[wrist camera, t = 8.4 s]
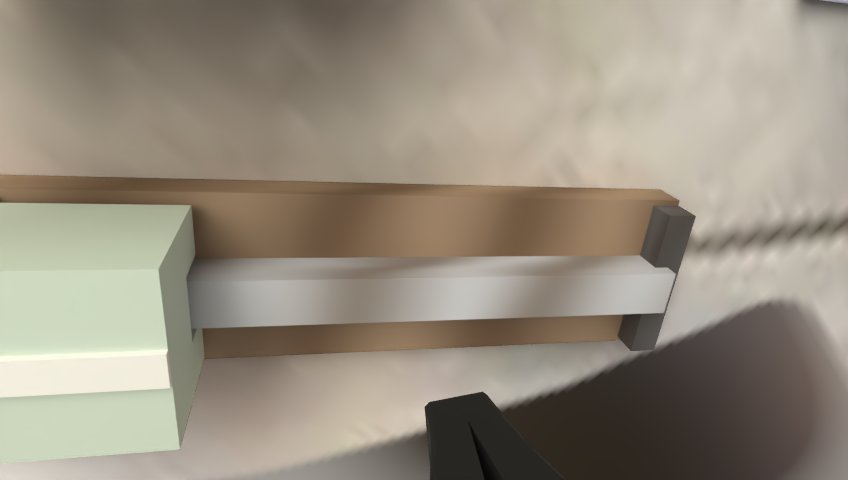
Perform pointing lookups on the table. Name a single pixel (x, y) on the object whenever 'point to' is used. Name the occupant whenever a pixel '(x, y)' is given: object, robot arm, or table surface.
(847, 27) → the table surface
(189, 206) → the carriage
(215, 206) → the rail
